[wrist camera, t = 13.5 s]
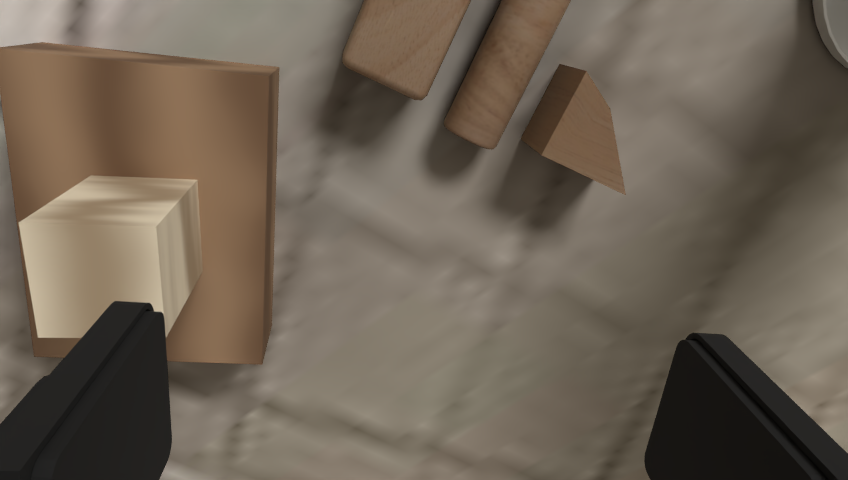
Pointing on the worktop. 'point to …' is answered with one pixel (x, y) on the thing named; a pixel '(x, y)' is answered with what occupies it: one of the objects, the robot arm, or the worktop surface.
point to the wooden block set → (490, 77)
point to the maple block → (112, 251)
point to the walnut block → (158, 169)
